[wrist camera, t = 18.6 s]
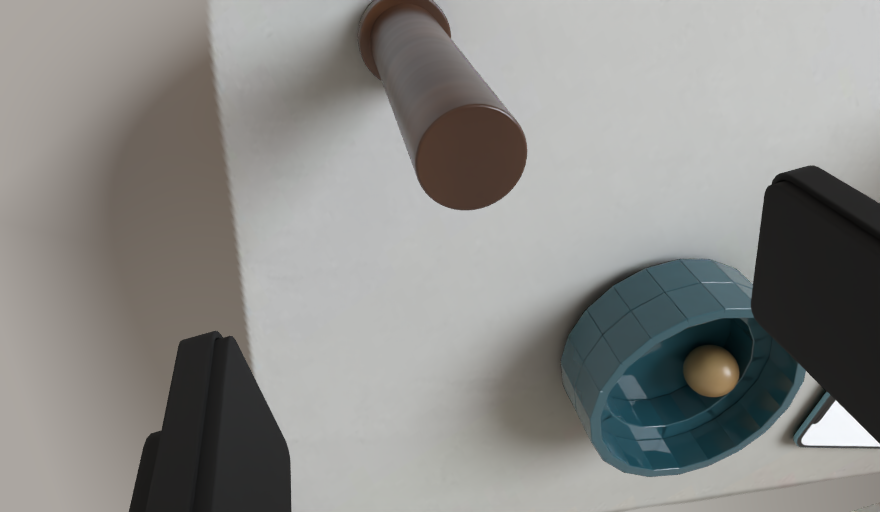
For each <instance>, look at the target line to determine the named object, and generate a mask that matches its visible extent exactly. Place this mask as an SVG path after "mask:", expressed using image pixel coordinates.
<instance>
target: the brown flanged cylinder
mask: <svg viewBox="0 0 880 512" xmlns="http://www.w3.org/2000/svg"><path fill="white" fill-rule="evenodd" d="M358 44H359V49H360V52H361V55H362V58H363V60H364V62H365V64H366V66H367V67H368V69H369V70H370V71H371V72H372V74H373V75H374V76H376V77H377V78H378V79H380V80H381V81H382V83H383V85H384V88H385V91H386V94H387V96H388V99H389V102H390V105H391V107H392V110H393V113H394V115H395V118H396V121H397V124H398V126H399V129H400V132H401V135H402V137H403V140H404V143H405V145H406V148H407V151H408V154H409V156H410V159H411V162H412V165H413V167H414V170H415V173H416V175H417V178H418V181H419V183H420V185H421V187H422V188H423V190H424V191H425V193H426V194H427V195H428V196H429V197H430V198H432V199H433V200H434V201H435V202H437V203H439V204H441V205H443V206H445V207H448V208H451V209H456V210H475V209H480V208H483V207H486V206H489V205H491V204H493V203H495V202H497V201H498V200H500V199H502V198H503V197H504V196H505V195H507V194H508V193H509V192H510V191H511V190H512V189H513V187H514V186H515V185H516V184H517V182H518V180H519V179H520V177H521V175H522V173H523V170H524V167H525V164H526V159H527V142H526V138H525V135H524V132H523V130H522V128H521V126H520V125H519V123H518V122H517V121H516V120H515V118H514V117H513V116H512V115H511V113H510V112H509V111H508V110H507V108H506V107H505V106H504V105H503V103H502V102H501V101H500V100H499V98H498V97H497V96H496V95H495V93H494V92H493V91H492V90H491V88H490V87H489V86H488V85H487V83H486V82H485V81H484V80H483V78H482V77H481V76H480V75H479V73H478V72H477V71H476V70H475V68H474V67H473V66H472V65H471V63H470V62H469V61H468V60H467V58H466V57H465V56H464V55H463V53H462V52H461V51H460V50H459V48H458V47H457V46H456V45H455V43H454V42H453V41H452V40H451V32H450V27H449V23H448V21H447V18H446V16H445V15H444V13H443V11H442V10H441V9H440V8H439V6H438V5H437V4H436V3H435V2H434V1H433V0H374V1H373V2H372V3H371V4H370V5H369V6H368V7H367V9H366V10H365V12H364V13H363V16H362V18H361V20H360V24H359V29H358Z"/></svg>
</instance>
